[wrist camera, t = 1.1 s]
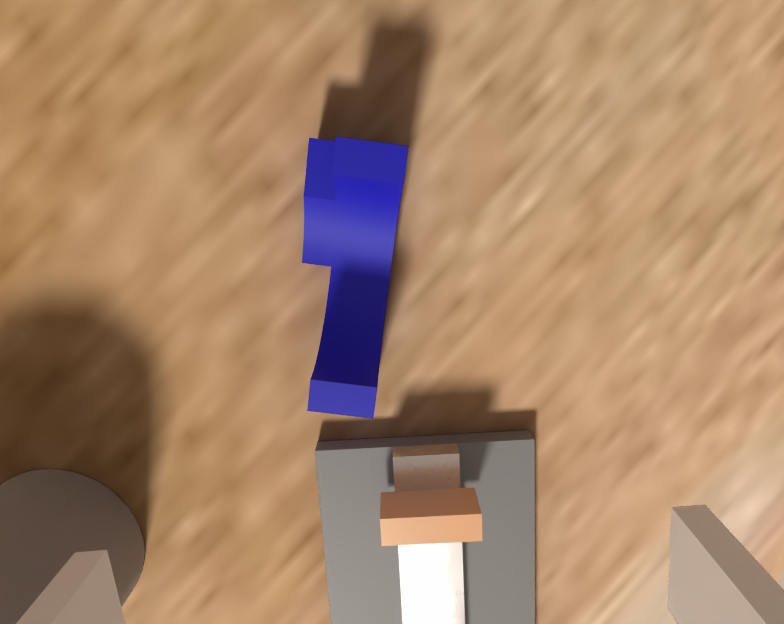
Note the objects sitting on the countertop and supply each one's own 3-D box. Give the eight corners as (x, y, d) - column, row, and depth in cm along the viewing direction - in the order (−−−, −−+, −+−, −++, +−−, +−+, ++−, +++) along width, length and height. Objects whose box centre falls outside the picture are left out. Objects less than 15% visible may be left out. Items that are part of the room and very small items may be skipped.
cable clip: (317, 142, 29) (298, 131, 23) (405, 154, 29) (408, 146, 23) (296, 365, 32) (274, 406, 26) (376, 375, 32) (373, 418, 26)
